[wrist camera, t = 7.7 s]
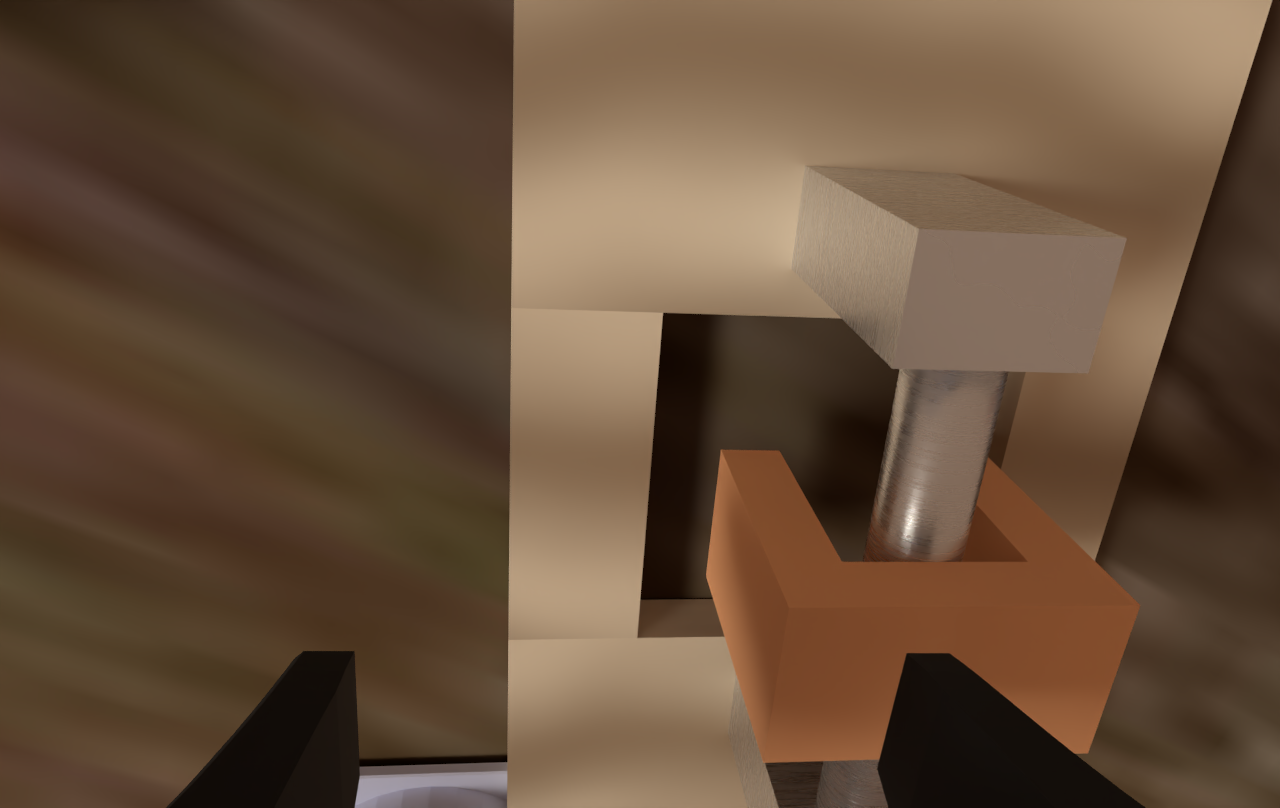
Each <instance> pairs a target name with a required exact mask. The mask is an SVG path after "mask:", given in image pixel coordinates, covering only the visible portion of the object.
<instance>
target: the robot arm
mask: <svg viewBox="0 0 1280 808" xmlns="http://www.w3.org/2000/svg"><path fill="white" fill-rule="evenodd" d="M877 770H878V774H879V777H880V781H881V784H882V788H883V791H884V794H885V798H886V801H887V805H888V808H1145V807H1144V806H1142V805H1141V804H1140V803H1138V802H1137V801H1136V800H1134V799H1133V798H1132V797H1130V796H1129V795H1127V794H1126V793H1125V792H1123V791H1122V790H1121V789H1119V788H1118V787H1117V786H1115V785H1114V784H1113V783H1112V782H1110V781H1109V780H1108V779H1106V778H1105V777H1104V776H1102V775H1101V774H1100V773H1099V772H1097V771H1096V770H1095V769H1093V768H1092V767H1091V766H1090V765H1088V764H1087V763H1086V762H1084V761H1083V760H1082V759H1081V758H1079V757H1078V756H1077V755H1076V754H1074V753H1073V752H1072V751H1071V750H1069V749H1068V748H1067V747H1066V746H1064V745H1063V744H1062V743H1061V742H1059V741H1058V740H1057V739H1056V738H1054V737H1053V736H1052V735H1051V734H1050V733H1048V732H1047V731H1046V730H1045V729H1043V728H1042V727H1041V726H1040V725H1038V724H1037V723H1036V722H1035V721H1034V720H1032V719H1031V718H1030V717H1029V716H1028V715H1026V714H1025V713H1024V712H1023V711H1021V710H1020V709H1019V708H1018V707H1017V706H1015V705H1014V704H1013V703H1012V702H1011V701H1009V700H1008V699H1007V698H1006V697H1004V696H1003V695H1002V694H1001V693H1000V692H998V691H997V690H996V689H995V688H993V687H992V686H991V685H990V684H989V683H987V682H986V681H985V680H984V679H982V678H981V677H980V676H979V675H977V674H976V673H975V672H974V671H972V670H971V669H970V668H969V667H967V666H966V665H965V664H963V663H962V662H961V661H959V660H958V659H957V658H955V657H954V656H953V655H951V654H950V653H907V654H906V657H905V661H904V665H903V669H902V673H901V677H900V681H899V685H898V689H897V692H896V696H895V700H894V704H893V708H892V712H891V716H890V720H889V724H888V728H887V731H886V735H885V739H884V743H883V747H882V751H881V755H880V759H879V763H878V766H877ZM166 808H507V762H497V763H466V764H434V765H402V766H371V767H359V745H358V722H357V699H356V677H355V654H354V651H303V652H302V653H301V654H300V655H298V656H297V657H296V658H295V659H294V660H293V661H292V663H291V664H290V665H289V666H288V668H287V669H286V670H285V672H284V673H283V674H282V675H281V677H280V678H279V679H278V680H277V682H276V683H275V684H274V686H273V687H272V688H271V689H270V691H269V692H268V693H267V694H266V696H265V697H264V698H263V699H262V700H261V702H260V703H259V704H258V705H257V707H256V708H255V709H254V710H253V711H252V713H251V714H250V715H249V716H248V717H247V719H246V720H245V721H244V722H243V723H242V725H241V726H240V727H239V728H238V729H237V730H236V732H235V733H234V734H233V735H232V736H231V737H230V739H229V740H228V741H227V742H226V743H225V744H224V745H223V746H222V748H221V749H220V750H219V751H218V752H217V753H216V754H215V755H214V757H213V758H212V759H211V760H210V761H209V762H208V763H207V764H206V766H205V767H204V768H203V769H202V770H201V771H200V772H199V773H198V775H197V776H196V777H195V778H194V779H193V780H192V781H191V782H190V783H189V784H188V786H187V787H186V788H185V789H184V790H183V791H182V792H181V793H180V794H179V795H178V796H177V797H176V798H175V799H174V800H173V801H172V802H171V803H170V804H169V805H168V806H167V807H166Z"/></svg>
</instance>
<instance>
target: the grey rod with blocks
mask: <svg viewBox="0 0 1280 808" xmlns="http://www.w3.org/2000/svg"><path fill="white" fill-rule="evenodd" d="M1126 240H1127V238H1125V237H1122V236H1120V235H1117V234H1114V233H1112V232H1109V231H1107V230H1104V229H1101V228H1099V227H1096V226H1093V225H1091V224H1088V223H1085V222H1083V221H1080V220H1077V219H1075V218H1072V217H1069V216H1067V215H1064V214H1061V213H1059V212H1056V211H1053V210H1051V209H1048V208H1045V207H1043V206H1040V205H1037V204H1035V203H1032V202H1029V201H1027V200H1024V199H1021V198H1019V197H1016V196H1013V195H1011V194H1008V193H1005V192H1003V191H1000V190H997V189H995V188H992V187H989V186H987V185H984V184H981V183H979V182H976V181H973V180H971V179H968V178H965V177H963V176H960V175H957V174H954V173H935V172H916V171H897V170H878V169H859V168H840V167H821V166H805V170H804V178H803V185H802V192H801V200H800V207H799V215H798V222H797V229H796V237H795V244H794V251H793V259H792V266H791V269H792V270H793V271H794V272H795V273H796V274H797V275H798V276H799V277H800V278H801V279H802V280H803V281H804V282H805V283H806V284H807V285H808V286H809V287H810V288H811V289H812V290H813V291H814V292H815V293H816V294H817V295H818V296H819V297H820V298H821V299H822V300H823V301H824V302H825V303H827V304H828V305H829V306H830V307H831V308H832V309H833V310H834V311H835V312H836V313H837V314H838V315H839V316H840V317H841V318H842V319H843V320H844V321H845V322H846V323H847V324H848V325H849V326H850V327H851V328H852V329H853V330H854V331H855V332H856V333H857V334H858V335H859V336H860V337H861V338H862V339H863V340H864V341H865V342H866V343H867V344H868V345H869V346H870V347H871V348H872V349H873V350H874V351H875V352H876V353H877V354H878V355H879V356H880V357H881V358H882V359H883V360H884V361H885V362H886V363H887V364H888V365H889V366H890V367H891V368H892V369H900V370H899V376H898V381H897V386H896V391H895V396H894V401H893V406H892V412H891V417H890V422H889V427H888V432H887V437H886V442H885V448H884V453H883V458H882V463H881V468H880V473H879V478H878V484H877V489H876V494H875V499H874V504H873V509H872V514H871V520H870V525H869V530H868V535H867V540H866V545H865V550H864V556H863V561H862V562H962V560H963V556H964V552H965V548H966V544H967V540H968V536H969V532H970V528H971V524H972V520H973V516H974V512H975V508H976V504H977V500H978V496H979V492H980V487H981V483H982V479H983V475H984V471H985V467H986V463H987V459H988V455H989V451H990V447H991V443H992V439H993V435H994V431H995V427H996V423H997V419H998V415H999V411H1000V406H1001V402H1002V398H1003V394H1004V390H1005V386H1006V382H1007V378H1008V374H1009V372H1049V373H1089V369H1090V366H1091V362H1092V359H1093V355H1094V352H1095V348H1096V345H1097V341H1098V338H1099V334H1100V331H1101V327H1102V324H1103V320H1104V317H1105V313H1106V310H1107V306H1108V303H1109V299H1110V296H1111V292H1112V289H1113V285H1114V282H1115V278H1116V275H1117V271H1118V268H1119V264H1120V261H1121V257H1122V254H1123V250H1124V247H1125V243H1126ZM728 735H729V739H730V743H731V747H732V750H733V754H734V758H735V762H736V765H737V769H738V773H739V777H740V780H741V784H742V788H743V792H744V795H745V799H746V803H747V807H748V808H888V805H887V801H886V798H885V794H884V791H883V788H882V784H881V781H880V777H879V774H878V770H877V766H878V763H879V759H877V760H843V761H809V762H776V763H763V761H762V757H761V754H760V751H759V748H758V744H757V741H756V738H755V734H754V731H753V728H752V725H751V721H750V718H749V715H748V712H747V708H746V705H745V702H744V698H743V695H742V692H741V689H740V685H739V682H738V679H737V676H736V678H735V685H734V692H733V700H732V707H731V714H730V722H729V729H728Z"/></svg>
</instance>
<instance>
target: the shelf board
mask: <svg viewBox="0 0 1280 808" xmlns="http://www.w3.org/2000/svg"><path fill="white" fill-rule="evenodd" d="M1271 3H1272V0H514V72H513V187H512V301H511V415H510V529H509V643H508V757H507V808H748V807H747V803H746V799H745V795H744V792H743V788H742V784H741V780H740V777H739V773H738V769H737V765H736V762H735V758H734V754H733V750H732V747H731V743H730V739H729V735H728V729H729V722H730V714H731V707H732V700H733V692H734V685H735V678H736V672H735V669H734V666H733V662H732V659H731V656H730V653H729V649H728V646H727V643H726V640H725V636H724V633H723V630H722V626H721V623H720V620H719V617H718V613H717V610H716V607H715V604H714V600H713V599H660V600H640V597H641V585H642V572H643V559H644V547H645V534H646V521H647V509H648V496H649V484H650V471H651V458H652V446H653V433H654V421H655V408H656V395H657V383H658V370H659V358H660V345H661V332H662V320H663V313H687V314H719V315H751V316H783V317H816V318H841V317H840V316H839V315H838V314H837V313H836V312H835V311H834V310H833V309H832V308H831V307H830V306H829V305H828V304H827V303H825V302H824V301H823V300H822V299H821V298H820V297H819V296H818V295H817V294H816V293H815V292H814V291H813V290H812V289H811V288H810V287H809V286H808V285H807V284H806V283H805V282H804V281H803V280H802V279H801V278H800V277H799V276H798V275H797V274H796V273H795V272H794V271H793V270H792V269H791V266H792V259H793V251H794V244H795V237H796V229H797V222H798V215H799V207H800V200H801V192H802V185H803V178H804V170H805V166H821V167H840V168H859V169H878V170H897V171H916V172H935V173H954V174H957V175H960V176H963V177H965V178H968V179H971V180H973V181H976V182H979V183H981V184H984V185H987V186H989V187H992V188H995V189H997V190H1000V191H1003V192H1005V193H1008V194H1011V195H1013V196H1016V197H1019V198H1021V199H1024V200H1027V201H1029V202H1032V203H1035V204H1037V205H1040V206H1043V207H1045V208H1048V209H1051V210H1053V211H1056V212H1059V213H1061V214H1064V215H1067V216H1069V217H1072V218H1075V219H1077V220H1080V221H1083V222H1085V223H1088V224H1091V225H1093V226H1096V227H1099V228H1101V229H1104V230H1107V231H1109V232H1112V233H1114V234H1117V235H1120V236H1122V237H1125V238H1127V240H1126V243H1125V247H1124V250H1123V254H1122V257H1121V261H1120V264H1119V268H1118V271H1117V275H1116V278H1115V282H1114V285H1113V289H1112V292H1111V296H1110V299H1109V303H1108V306H1107V310H1106V313H1105V317H1104V320H1103V324H1102V327H1101V331H1100V334H1099V338H1098V341H1097V345H1096V348H1095V352H1094V355H1093V359H1092V362H1091V366H1090V369H1089V373H1049V372H1009V374H1008V378H1007V382H1006V386H1005V390H1004V394H1003V398H1002V402H1001V406H1000V411H999V415H998V419H997V423H996V427H995V431H994V435H993V439H992V443H991V447H990V451H989V455H988V458H989V459H990V460H991V461H992V462H993V463H995V464H996V465H997V466H998V467H999V468H1000V469H1001V470H1002V471H1003V472H1004V473H1005V474H1006V475H1007V476H1008V477H1009V478H1010V479H1011V480H1012V481H1013V482H1014V483H1015V484H1016V485H1017V486H1018V487H1019V488H1020V489H1021V490H1022V491H1023V492H1024V493H1025V494H1026V495H1027V496H1028V497H1029V498H1031V499H1032V500H1033V501H1034V502H1035V503H1036V504H1037V505H1038V506H1039V507H1040V508H1041V509H1042V510H1043V511H1044V512H1045V513H1046V514H1047V515H1048V516H1049V517H1050V518H1051V519H1052V520H1053V521H1054V522H1055V523H1056V524H1057V525H1058V526H1059V527H1060V528H1061V529H1062V530H1063V531H1064V532H1065V533H1066V534H1068V535H1069V536H1070V537H1071V538H1072V539H1073V540H1074V541H1075V542H1076V543H1077V544H1078V545H1079V546H1080V547H1081V548H1082V549H1083V550H1084V551H1085V552H1086V553H1087V554H1088V555H1089V556H1090V557H1091V558H1092V559H1093V560H1094V561H1095V559H1096V556H1097V553H1098V549H1099V546H1100V543H1101V540H1102V537H1103V534H1104V530H1105V527H1106V524H1107V521H1108V518H1109V515H1110V512H1111V508H1112V505H1113V502H1114V499H1115V496H1116V493H1117V489H1118V486H1119V483H1120V480H1121V477H1122V474H1123V470H1124V467H1125V464H1126V461H1127V458H1128V455H1129V452H1130V448H1131V445H1132V442H1133V439H1134V436H1135V433H1136V429H1137V426H1138V423H1139V420H1140V417H1141V414H1142V410H1143V407H1144V404H1145V401H1146V398H1147V395H1148V392H1149V388H1150V385H1151V382H1152V379H1153V376H1154V373H1155V369H1156V366H1157V363H1158V360H1159V357H1160V354H1161V350H1162V347H1163V344H1164V341H1165V338H1166V335H1167V331H1168V328H1169V325H1170V322H1171V319H1172V316H1173V313H1174V309H1175V306H1176V303H1177V300H1178V297H1179V294H1180V290H1181V287H1182V284H1183V281H1184V278H1185V275H1186V271H1187V268H1188V265H1189V262H1190V259H1191V256H1192V253H1193V249H1194V246H1195V243H1196V240H1197V237H1198V234H1199V230H1200V227H1201V224H1202V221H1203V218H1204V215H1205V211H1206V208H1207V205H1208V202H1209V199H1210V196H1211V193H1212V189H1213V186H1214V183H1215V180H1216V177H1217V174H1218V170H1219V167H1220V164H1221V161H1222V158H1223V155H1224V151H1225V148H1226V145H1227V142H1228V139H1229V136H1230V133H1231V129H1232V126H1233V123H1234V120H1235V117H1236V114H1237V110H1238V107H1239V104H1240V101H1241V98H1242V95H1243V91H1244V88H1245V85H1246V82H1247V79H1248V76H1249V73H1250V69H1251V66H1252V63H1253V60H1254V57H1255V54H1256V50H1257V47H1258V44H1259V41H1260V38H1261V35H1262V31H1263V28H1264V25H1265V22H1266V19H1267V16H1268V12H1269V9H1270V6H1271Z"/></svg>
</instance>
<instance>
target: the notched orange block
mask: <svg viewBox="0 0 1280 808" xmlns="http://www.w3.org/2000/svg"><path fill="white" fill-rule="evenodd" d="M706 577H707V581H708V584H709V587H710V590H711V594H712V597H713V600H714V604H715V607H716V610H717V613H718V617H719V620H720V623H721V626H722V630H723V633H724V636H725V640H726V643H727V646H728V649H729V653H730V656H731V659H732V662H733V666H734V669H735V672H736V676H737V679H738V682H739V685H740V689H741V692H742V695H743V698H744V702H745V705H746V708H747V712H748V715H749V718H750V721H751V725H752V728H753V731H754V734H755V738H756V741H757V744H758V748H759V751H760V754H761V757H762V761H763V763H776V762H809V761H843V760H877V759H880V755H881V751H882V747H883V743H884V739H885V735H886V731H887V728H888V724H889V720H890V716H891V712H892V708H893V704H894V700H895V696H896V692H897V689H898V685H899V681H900V677H901V673H902V669H903V665H904V661H905V657H906V654H907V653H950V654H951V655H953V656H954V657H955V658H957V659H958V660H959V661H961V662H962V663H963V664H965V665H966V666H967V667H969V668H970V669H971V670H972V671H974V672H975V673H976V674H977V675H979V676H980V677H981V678H982V679H984V680H985V681H986V682H987V683H989V684H990V685H991V686H992V687H993V688H995V689H996V690H997V691H998V692H1000V693H1001V694H1002V695H1003V696H1004V697H1006V698H1007V699H1008V700H1009V701H1011V702H1012V703H1013V704H1014V705H1015V706H1017V707H1018V708H1019V709H1020V710H1021V711H1023V712H1024V713H1025V714H1026V715H1028V716H1029V717H1030V718H1031V719H1032V720H1034V721H1035V722H1036V723H1037V724H1038V725H1040V726H1041V727H1042V728H1043V729H1045V730H1046V731H1047V732H1048V733H1050V734H1051V735H1052V736H1053V737H1054V738H1056V739H1057V740H1058V741H1059V742H1061V743H1062V744H1063V745H1064V746H1066V747H1067V748H1068V749H1069V750H1071V751H1072V752H1073V753H1074V754H1078V753H1088V752H1089V749H1090V746H1091V743H1092V740H1093V738H1094V735H1095V732H1096V729H1097V726H1098V724H1099V721H1100V718H1101V715H1102V712H1103V709H1104V707H1105V704H1106V701H1107V698H1108V695H1109V693H1110V690H1111V687H1112V684H1113V681H1114V678H1115V676H1116V673H1117V670H1118V667H1119V664H1120V662H1121V659H1122V656H1123V653H1124V650H1125V647H1126V645H1127V642H1128V639H1129V636H1130V633H1131V631H1132V628H1133V625H1134V622H1135V619H1136V616H1137V614H1138V611H1139V608H1140V605H1139V604H1138V603H1137V602H1136V601H1135V600H1134V599H1133V598H1132V597H1131V596H1130V595H1129V594H1128V593H1127V592H1126V591H1125V590H1124V589H1123V588H1122V587H1121V586H1120V585H1119V584H1118V583H1117V582H1116V581H1115V580H1114V579H1113V578H1112V577H1111V576H1110V575H1109V574H1108V573H1107V572H1106V571H1105V570H1104V569H1102V568H1101V567H1100V566H1099V565H1098V564H1097V563H1096V562H1095V561H1094V560H1093V559H1092V558H1091V557H1090V556H1089V555H1088V554H1087V553H1086V552H1085V551H1084V550H1083V549H1082V548H1081V547H1080V546H1079V545H1078V544H1077V543H1076V542H1075V541H1074V540H1073V539H1072V538H1071V537H1070V536H1069V535H1068V534H1066V533H1065V532H1064V531H1063V530H1062V529H1061V528H1060V527H1059V526H1058V525H1057V524H1056V523H1055V522H1054V521H1053V520H1052V519H1051V518H1050V517H1049V516H1048V515H1047V514H1046V513H1045V512H1044V511H1043V510H1042V509H1041V508H1040V507H1039V506H1038V505H1037V504H1036V503H1035V502H1034V501H1033V500H1032V499H1031V498H1029V497H1028V496H1027V495H1026V494H1025V493H1024V492H1023V491H1022V490H1021V489H1020V488H1019V487H1018V486H1017V485H1016V484H1015V483H1014V482H1013V481H1012V480H1011V479H1010V478H1009V477H1008V476H1007V475H1006V474H1005V473H1004V472H1003V471H1002V470H1001V469H1000V468H999V467H998V466H997V465H996V464H995V463H993V462H992V461H991V460H990V459H989V458H988V459H987V463H986V467H985V471H984V475H983V479H982V483H981V487H980V492H979V496H978V500H977V504H976V508H975V512H974V516H973V520H972V524H971V528H970V532H969V536H968V540H967V544H966V548H965V552H964V556H963V560H962V562H842V561H841V559H840V557H839V556H838V554H837V552H836V550H835V549H834V547H833V545H832V543H831V541H830V540H829V538H828V536H827V534H826V533H825V531H824V529H823V527H822V525H821V524H820V522H819V520H818V518H817V517H816V515H815V513H814V511H813V510H812V508H811V506H810V504H809V502H808V501H807V499H806V497H805V495H804V494H803V492H802V490H801V488H800V486H799V485H798V483H797V481H796V479H795V478H794V476H793V474H792V472H791V470H790V469H789V467H788V465H787V463H786V462H785V460H784V458H783V456H782V454H781V453H780V451H771V450H721V455H720V463H719V471H718V480H717V488H716V496H715V505H714V513H713V522H712V530H711V538H710V547H709V555H708V563H707V572H706Z"/></svg>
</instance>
